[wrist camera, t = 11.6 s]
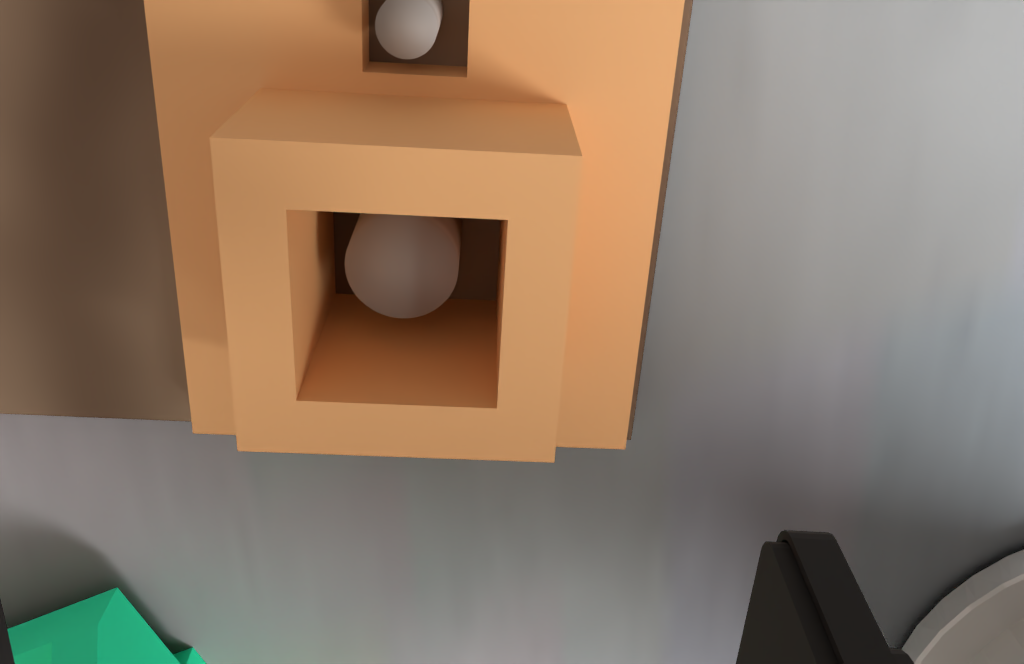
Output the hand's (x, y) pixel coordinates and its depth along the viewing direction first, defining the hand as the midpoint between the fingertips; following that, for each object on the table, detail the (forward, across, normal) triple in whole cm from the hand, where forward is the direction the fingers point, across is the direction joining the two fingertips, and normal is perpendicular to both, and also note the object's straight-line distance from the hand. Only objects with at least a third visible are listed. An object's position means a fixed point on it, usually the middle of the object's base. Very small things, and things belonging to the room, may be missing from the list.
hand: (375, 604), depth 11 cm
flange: (+13, +1, 0) cm, 13 cm away
